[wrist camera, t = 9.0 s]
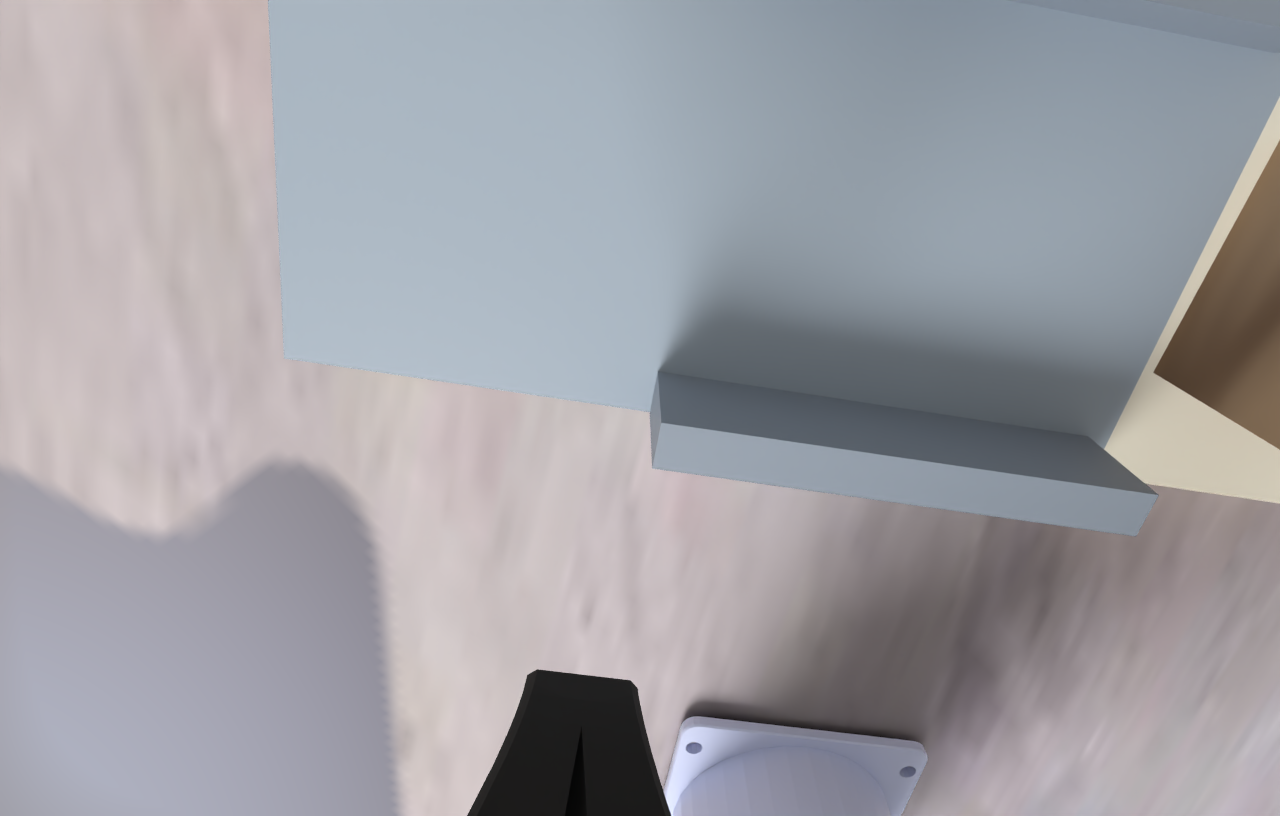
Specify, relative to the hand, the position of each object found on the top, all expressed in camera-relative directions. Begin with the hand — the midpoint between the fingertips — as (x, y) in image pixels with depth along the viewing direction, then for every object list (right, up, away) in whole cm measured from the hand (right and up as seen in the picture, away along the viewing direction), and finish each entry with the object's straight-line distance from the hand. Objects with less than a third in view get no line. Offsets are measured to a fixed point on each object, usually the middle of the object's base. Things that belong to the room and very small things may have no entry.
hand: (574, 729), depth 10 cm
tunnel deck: (+11, +8, +7) cm, 15 cm away
